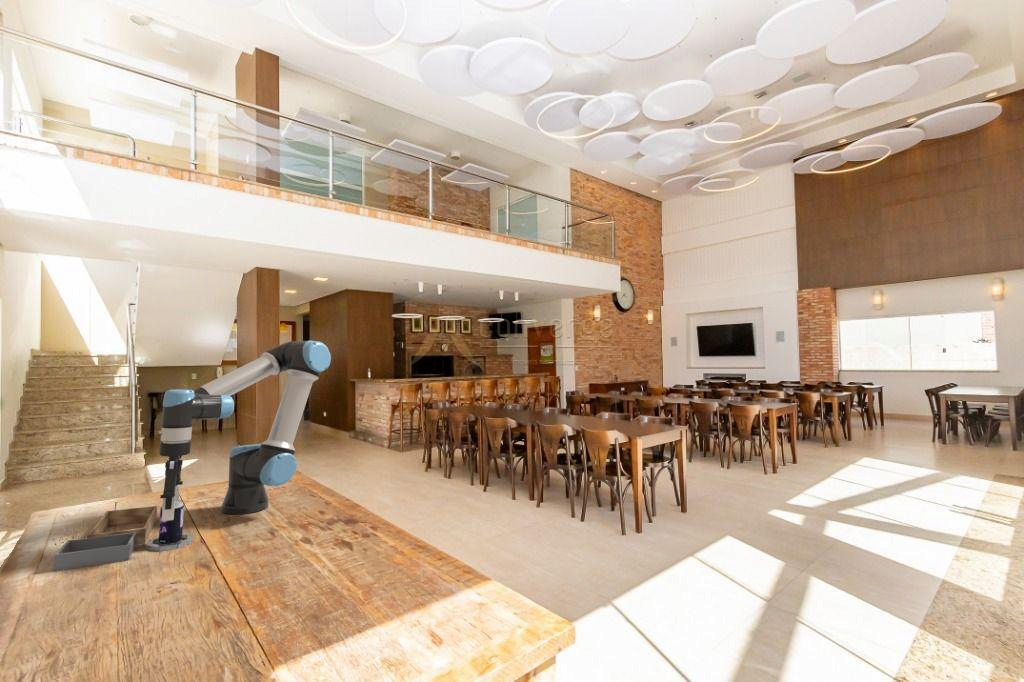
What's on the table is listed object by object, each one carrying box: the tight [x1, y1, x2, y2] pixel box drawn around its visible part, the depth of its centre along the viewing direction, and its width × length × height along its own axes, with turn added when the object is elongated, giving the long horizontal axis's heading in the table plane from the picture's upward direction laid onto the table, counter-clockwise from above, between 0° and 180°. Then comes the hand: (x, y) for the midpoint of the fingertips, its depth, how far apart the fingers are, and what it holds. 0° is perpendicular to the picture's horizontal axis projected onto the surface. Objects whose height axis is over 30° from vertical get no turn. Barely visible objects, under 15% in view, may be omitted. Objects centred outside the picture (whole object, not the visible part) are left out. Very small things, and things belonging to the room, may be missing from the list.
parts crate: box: [86, 505, 158, 546], centre depth 148 cm, size 13×24×4 cm, turn 30°
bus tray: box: [53, 532, 137, 572], centre depth 131 cm, size 15×11×4 cm
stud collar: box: [145, 531, 194, 552], centre depth 142 cm, size 11×11×1 cm
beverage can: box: [158, 499, 185, 545], centre depth 142 cm, size 6×6×12 cm
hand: (170, 513), depth 142 cm, fingers open, 13 cm apart
